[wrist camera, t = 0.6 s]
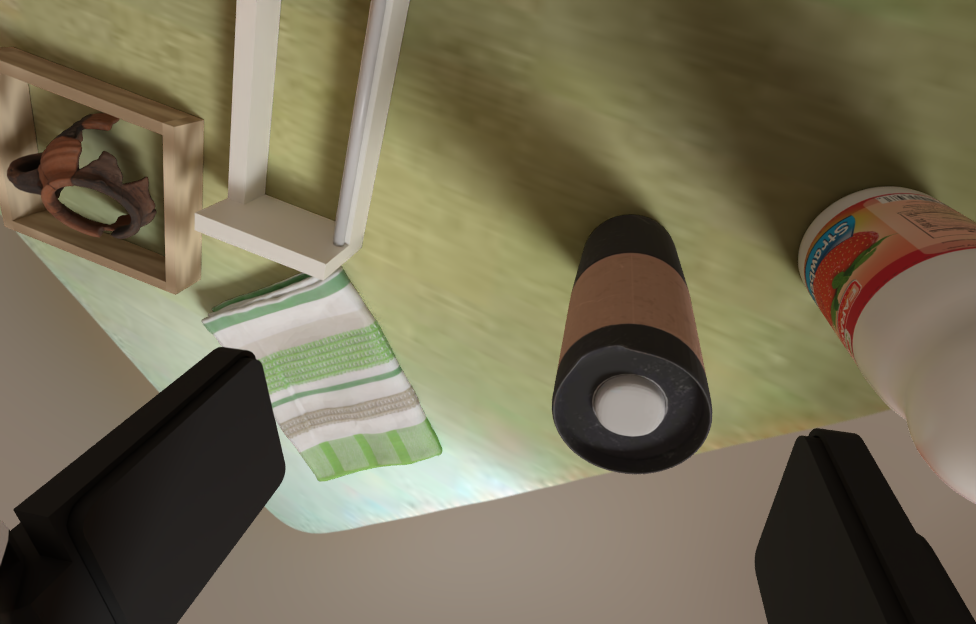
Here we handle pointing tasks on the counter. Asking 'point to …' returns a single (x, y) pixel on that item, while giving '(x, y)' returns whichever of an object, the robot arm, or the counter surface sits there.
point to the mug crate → (11, 134)
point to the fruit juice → (905, 313)
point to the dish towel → (328, 374)
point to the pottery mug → (83, 181)
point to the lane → (248, 208)
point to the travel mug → (631, 354)
